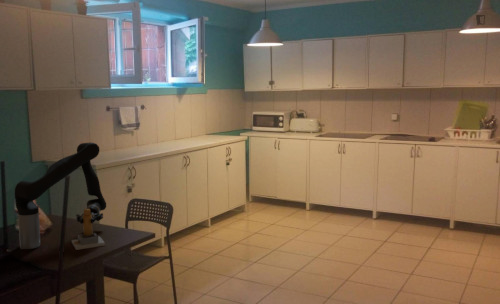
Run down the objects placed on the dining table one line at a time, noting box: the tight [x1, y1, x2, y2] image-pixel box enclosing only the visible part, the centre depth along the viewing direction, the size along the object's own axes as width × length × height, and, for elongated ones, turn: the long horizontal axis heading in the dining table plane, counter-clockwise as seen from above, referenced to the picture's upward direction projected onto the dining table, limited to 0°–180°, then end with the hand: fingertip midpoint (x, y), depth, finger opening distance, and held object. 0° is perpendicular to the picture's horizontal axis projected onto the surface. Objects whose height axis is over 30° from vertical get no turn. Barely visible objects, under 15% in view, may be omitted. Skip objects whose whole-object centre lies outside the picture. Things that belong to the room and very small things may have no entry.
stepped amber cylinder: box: [82, 208, 94, 236], centre depth 240 cm, size 4×4×13 cm
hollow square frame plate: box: [71, 231, 106, 251], centre depth 241 cm, size 14×12×4 cm
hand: (86, 221), depth 237 cm, fingers closed on stepped amber cylinder, 4 cm apart
